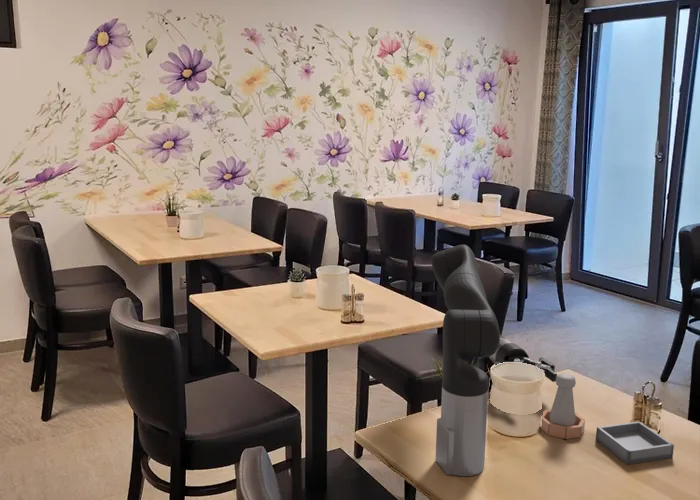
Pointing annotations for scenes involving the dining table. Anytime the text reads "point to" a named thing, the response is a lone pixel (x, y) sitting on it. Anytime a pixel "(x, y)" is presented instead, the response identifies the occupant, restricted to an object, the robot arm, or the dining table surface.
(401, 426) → the dining table surface
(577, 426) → the collar
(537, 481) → the dining table surface
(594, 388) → the dining table surface
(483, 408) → the robot arm
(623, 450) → the tray
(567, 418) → the salt shaker
